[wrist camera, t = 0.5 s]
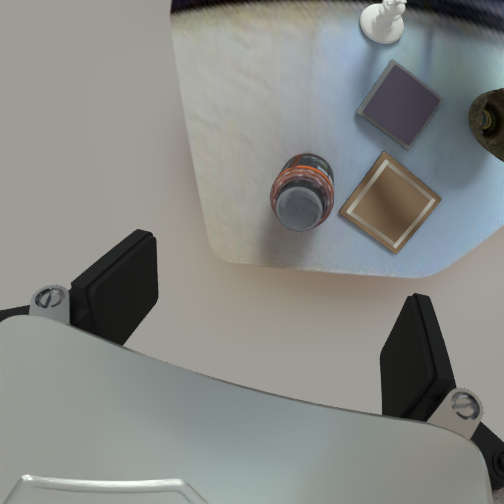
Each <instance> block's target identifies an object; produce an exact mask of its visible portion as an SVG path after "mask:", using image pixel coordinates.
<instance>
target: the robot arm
mask: <svg viewBox="0 0 504 504" xmlns="http://www.w3.org/2000/svg"><path fill="white" fill-rule="evenodd" d="M156 243H157V242H156V238H155V237H153V234H152V233H151V232H148V231H144V230H140V229H137V230H135V231H134V232H133V233H131V234H130V235H129V236H127V237H126V238H125V239H124V240H122V241H121V242H120V243H119V244H117V245H116V246H115V247H114V248H112V249H111V250H110V251H109V252H107V253H106V254H105V255H104V256H102V257H101V258H100V259H99V260H98V261H96V262H95V263H94V264H93V265H91V266H90V267H89V268H88V269H87V270H86V271H84V272H83V273H82V274H81V275H80V276H78V277H77V278H76V279H75V280H74V281H73V282H71V286H72V288H71V289H70V290H69V291H68V290H67V289H66V288H64V287H63V286H59V285H50V286H45V287H43V288H41V289H40V290H38V291H36V293H34V295H33V296H32V299H31V303H30V305H27V306H22V307H17V308H11V309H6V310H0V504H504V442H503V441H501V439H499V438H498V437H497V436H496V435H495V434H494V433H493V432H492V431H491V430H489V429H488V428H487V427H486V426H485V425H484V424H483V423H482V422H481V419H482V417H483V406H482V402H481V401H480V399H479V398H478V397H477V396H476V395H475V394H474V393H473V392H472V391H470V390H468V389H465V388H457V387H456V383H455V379H454V375H453V371H452V368H451V364H450V360H449V357H448V353H447V349H446V346H445V342H444V339H443V337H442V333H441V330H440V327H439V323H438V320H437V317H436V315H435V311H434V308H433V305H432V302H431V300H430V298H429V296H426V295H421V294H417V293H414V294H413V295H412V296H408V297H407V299H406V301H405V303H404V305H403V307H402V310H401V312H400V314H399V316H398V318H397V320H396V323H395V325H394V327H393V329H392V331H391V333H390V335H389V337H388V339H387V341H386V343H385V345H384V347H383V349H382V351H381V354H380V371H381V391H382V415H379V414H372V413H366V412H360V411H355V410H349V409H343V408H338V407H332V406H327V405H322V404H316V403H312V402H307V401H303V400H298V399H294V398H289V397H285V396H281V395H277V394H272V393H268V392H264V391H261V390H257V389H253V388H249V387H245V386H241V385H238V384H234V383H231V382H227V381H224V380H221V379H217V378H214V377H210V376H207V375H204V374H201V373H198V372H194V371H191V370H188V369H185V368H182V367H179V366H176V365H173V364H170V363H167V362H164V361H162V360H159V359H156V358H153V357H150V356H147V355H145V354H142V353H140V352H137V351H134V350H132V349H129V348H126V347H124V346H123V345H124V343H125V342H126V341H127V339H128V338H129V337H130V335H131V334H132V333H133V332H134V331H135V329H136V328H137V327H138V325H139V324H140V323H141V321H142V320H143V319H144V318H145V317H146V315H147V314H148V313H149V311H150V310H151V309H152V308H153V306H154V305H155V304H156V302H157V300H158V275H157V247H156V246H157V245H156Z"/></svg>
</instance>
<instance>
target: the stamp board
mask: <svg viewBox="0 0 504 504" xmlns="http://www.w3.org/2000/svg"><path fill="white" fill-rule="evenodd" d="M441 200H442V199H441V198H440V197H439V196H438V195H437V194H436V193H435V192H433V191H432V190H431V189H430V188H429V187H428V186H426V185H425V184H424V183H423V182H422V181H421V180H419V179H418V178H417V177H416V176H415V175H414V174H412V173H411V172H410V171H409V170H407V169H406V168H405V167H404V166H403V165H401V164H400V163H399V162H398V161H396V160H395V159H394V158H392V157H391V156H390V155H389V154H387V153H386V152H385V151H383V152H382V154H381V155H380V156H379V158H378V159H377V161H376V162H375V163H374V165H373V166H372V167H371V169H370V170H369V171H368V173H367V174H366V176H365V177H364V178H363V180H362V181H361V182H360V184H359V185H358V186H357V188H356V189H355V190H354V192H353V193H352V194H351V196H350V197H349V198H348V200H347V201H346V202H345V204H344V205H343V206H342V208H341V209H340V210H339V213H340V214H341V215H343V216H344V217H346V218H347V219H348V220H350V221H351V222H353V223H354V224H355V225H357V226H358V227H360V228H361V229H362V230H364V231H365V232H366V233H368V234H369V235H371V236H372V237H373V238H375V239H376V240H377V241H379V242H380V243H381V244H383V245H384V246H385V247H387V248H388V249H389V250H391V251H392V252H393V253H395V254H397V253H398V252H399V251H400V249H401V248H402V247H403V246H404V245H405V244H406V242H407V241H408V240H409V239H410V238H411V237H412V235H413V234H414V233H415V232H416V231H417V229H418V228H419V227H420V226H421V225H422V223H423V222H424V221H425V220H426V219H427V217H428V216H429V215H430V214H431V212H432V211H433V210H434V209H435V207H436V206H437V205H438V204H439V202H440V201H441Z"/></svg>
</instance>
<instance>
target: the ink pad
mask: <svg viewBox="0 0 504 504" xmlns="http://www.w3.org/2000/svg"><path fill="white" fill-rule="evenodd" d="M442 101H443V99H442V98H441V97H440V96H439V95H437V94H436V93H435V92H434V91H433V90H432V89H430V88H429V87H428V86H427V85H425V84H424V83H423V82H422V81H420V80H419V79H418V78H417V77H415V76H414V75H413V74H412V73H410V72H409V71H408V70H406V69H405V68H404V67H402V66H401V65H400V64H398V63H397V62H395V61H394V60H393V59H392V60H391V61H390V62H389V64H388V65H387V67H386V68H385V70H384V71H383V73H382V74H381V76H380V77H379V79H378V80H377V82H376V83H375V84H374V86H373V87H372V89H371V90H370V92H369V93H368V95H367V96H366V98H365V99H364V101H363V102H362V103H361V105H360V106H359V108H358V109H357V111H356V112H357V113H358V114H359V115H361V116H362V117H364V118H365V119H367V120H368V121H369V122H371V123H372V124H373V125H375V126H376V127H378V128H379V129H380V130H382V131H383V132H384V133H386V134H387V135H388V136H389V137H391V138H392V139H393V140H395V141H396V142H397V143H398V144H400V145H401V146H402V147H403V148H405V149H406V150H407V151H408V150H409V149H410V147H411V146H412V144H413V143H414V142H415V140H416V139H417V137H418V136H419V135H420V133H421V132H422V130H423V129H424V128H425V126H426V125H427V123H428V122H429V120H430V119H431V118H432V116H433V115H434V113H435V112H436V110H437V109H438V107H439V106H440V104H441V103H442Z"/></svg>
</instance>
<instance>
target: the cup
mask: <svg viewBox="0 0 504 504" xmlns="http://www.w3.org/2000/svg"><path fill="white" fill-rule="evenodd" d="M483 113H484V114H485V115H486V118H487V122H486V124H485V125H483V126H482V121H483V116H482V114H483ZM469 125H470V128H471V131H472V133H473V135H474V137H475V138H476V140H477V141H478V142H479V143H480V144H481V145H482V146H483V147H484V148H485V149H486V150H488V151H489V152H490V153H492V154H493V155H494V156H495V157H497V158H498V159H500V160H502V161H503V162H504V88H501V89H498V90H493V91H489V92H486V93H483V94H481V95H480V96H478V97H477V98H476V99H475V100H474V101H473V103H472V105H471V107H470V111H469Z"/></svg>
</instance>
